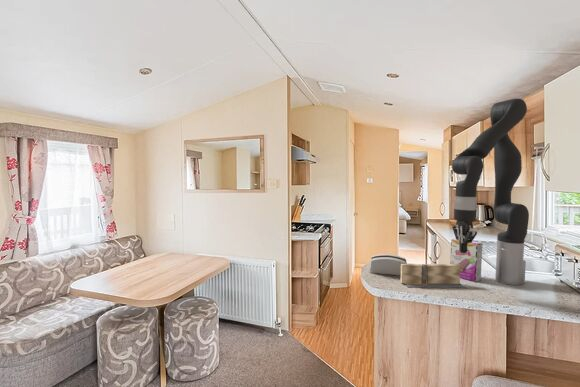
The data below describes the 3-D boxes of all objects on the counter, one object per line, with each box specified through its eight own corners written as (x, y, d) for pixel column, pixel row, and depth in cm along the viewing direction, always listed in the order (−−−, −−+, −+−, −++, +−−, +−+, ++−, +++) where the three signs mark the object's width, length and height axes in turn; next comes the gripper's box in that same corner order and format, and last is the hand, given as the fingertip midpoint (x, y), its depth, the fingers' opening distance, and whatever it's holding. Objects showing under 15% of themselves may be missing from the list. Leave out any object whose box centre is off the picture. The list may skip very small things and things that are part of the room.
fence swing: (457, 282, 127) (458, 264, 127) (460, 283, 125) (460, 265, 125) (426, 281, 128) (426, 264, 127) (427, 283, 126) (428, 265, 125)
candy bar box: (449, 275, 137) (450, 239, 136) (455, 273, 140) (456, 237, 139) (475, 282, 128) (477, 244, 127) (481, 280, 131) (483, 242, 130)
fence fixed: (425, 283, 128) (425, 264, 127) (427, 284, 126) (427, 265, 125) (400, 282, 128) (400, 263, 128) (401, 284, 126) (402, 265, 126)
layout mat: (442, 271, 142) (442, 270, 142) (465, 287, 122) (465, 287, 122) (392, 271, 143) (392, 270, 143) (407, 287, 123) (407, 286, 123)
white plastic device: (408, 272, 140) (408, 253, 136) (408, 278, 136) (408, 260, 132) (370, 268, 146) (369, 251, 142) (369, 275, 142) (368, 257, 138)
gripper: (486, 210, 111) (483, 257, 113) (464, 206, 125) (462, 248, 126) (465, 210, 111) (463, 257, 113) (446, 206, 125) (444, 248, 126)
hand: (462, 252), depth 119 cm, fingers closed
